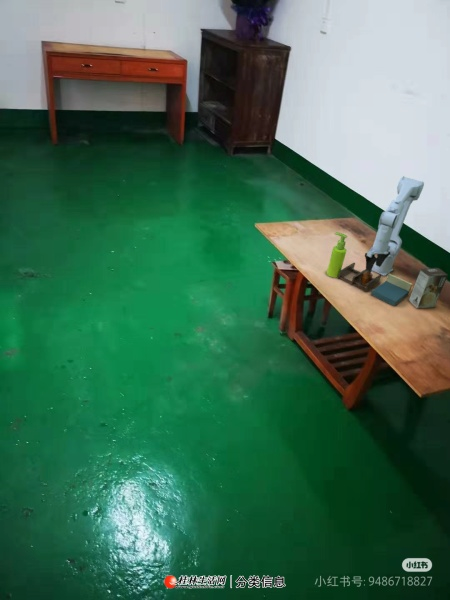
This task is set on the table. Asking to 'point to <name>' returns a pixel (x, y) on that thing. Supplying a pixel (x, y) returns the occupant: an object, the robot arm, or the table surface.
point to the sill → (392, 290)
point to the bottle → (366, 277)
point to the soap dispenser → (337, 257)
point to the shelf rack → (357, 277)
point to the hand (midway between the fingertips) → (373, 267)
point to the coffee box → (428, 287)
